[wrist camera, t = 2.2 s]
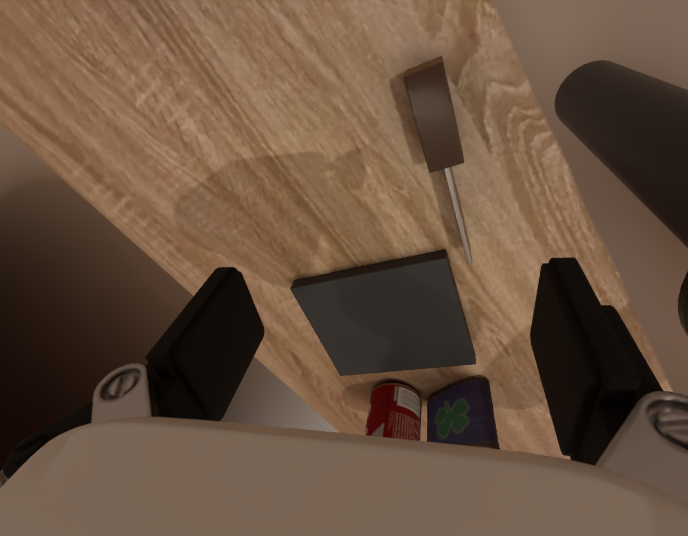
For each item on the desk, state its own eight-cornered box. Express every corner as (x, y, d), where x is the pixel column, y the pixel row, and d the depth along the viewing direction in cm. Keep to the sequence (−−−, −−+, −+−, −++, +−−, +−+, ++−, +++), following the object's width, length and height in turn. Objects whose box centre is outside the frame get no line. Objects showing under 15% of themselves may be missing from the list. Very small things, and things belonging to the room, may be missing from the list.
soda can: (401, 372, 47) (392, 467, 38) (431, 401, 49) (430, 497, 40) (362, 387, 50) (345, 477, 41) (392, 413, 53) (382, 504, 43)
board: (446, 249, 35) (446, 258, 34) (475, 354, 42) (476, 364, 41) (294, 280, 41) (289, 288, 40) (342, 366, 49) (340, 376, 47)
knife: (406, 70, 27) (403, 77, 24) (441, 55, 26) (442, 61, 23) (453, 247, 35) (454, 266, 32) (482, 241, 34) (485, 260, 31)
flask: (435, 407, 50) (435, 491, 41) (420, 396, 49) (417, 479, 41) (494, 383, 45) (508, 473, 36) (479, 370, 44) (489, 459, 35)
